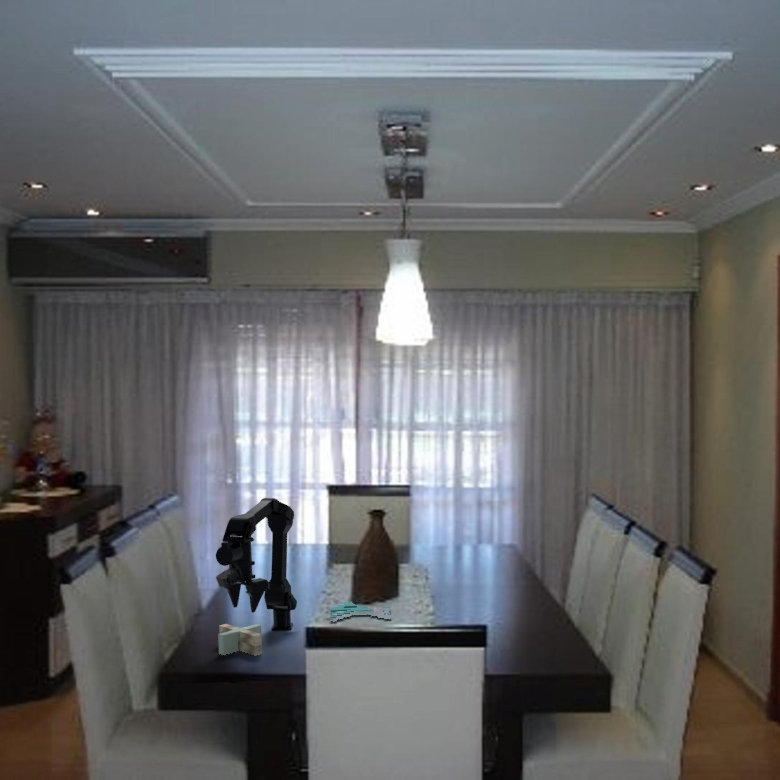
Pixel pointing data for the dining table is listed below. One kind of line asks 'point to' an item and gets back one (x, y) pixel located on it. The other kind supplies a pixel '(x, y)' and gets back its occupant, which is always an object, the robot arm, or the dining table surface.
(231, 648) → the pale green slotted board
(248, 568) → the robot arm
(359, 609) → the alien figure
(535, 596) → the dining table surface
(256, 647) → the birch slotted board
